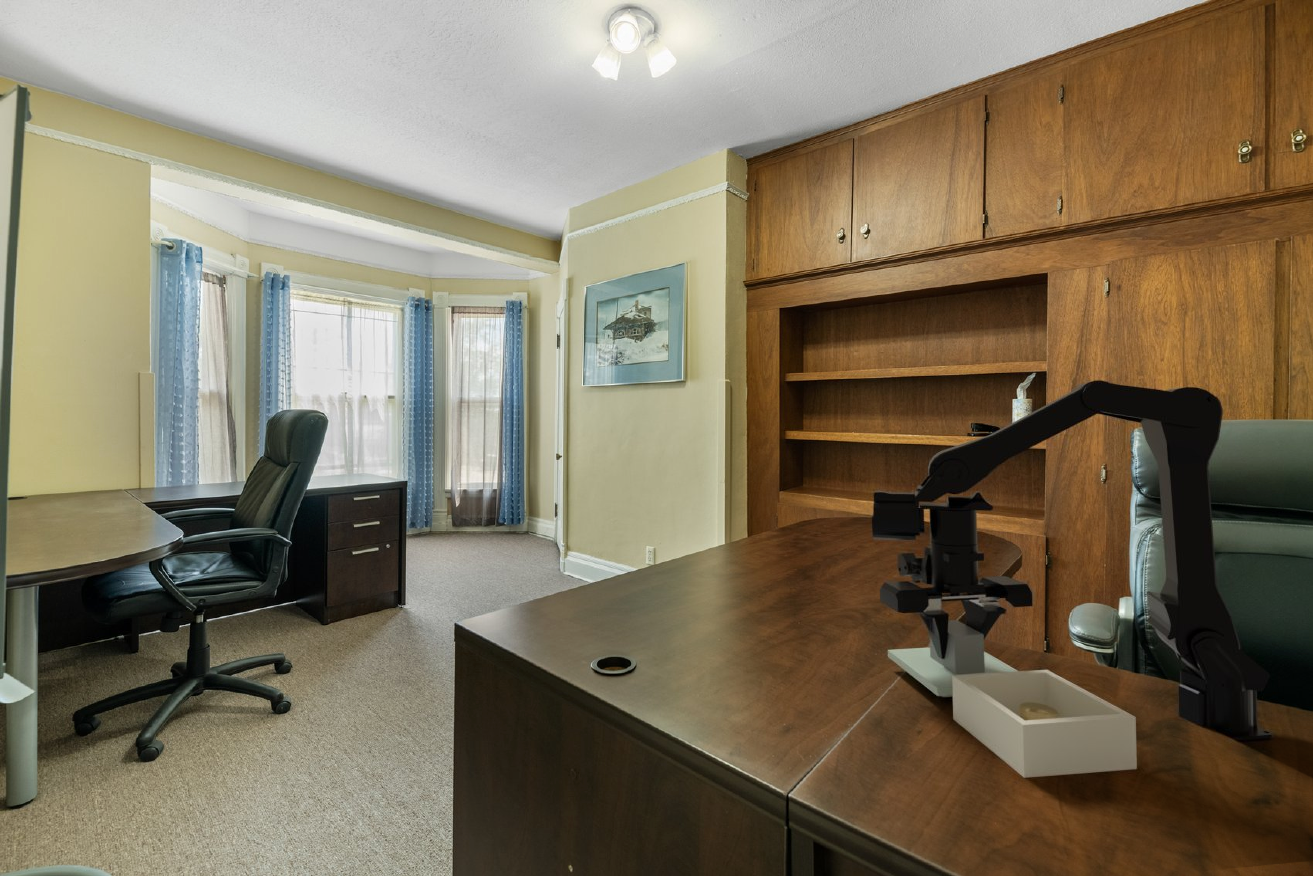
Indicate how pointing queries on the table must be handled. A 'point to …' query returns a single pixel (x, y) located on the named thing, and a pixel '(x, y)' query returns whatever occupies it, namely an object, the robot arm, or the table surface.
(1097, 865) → the table surface
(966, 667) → the lid
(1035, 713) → the brass weight
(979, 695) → the box
